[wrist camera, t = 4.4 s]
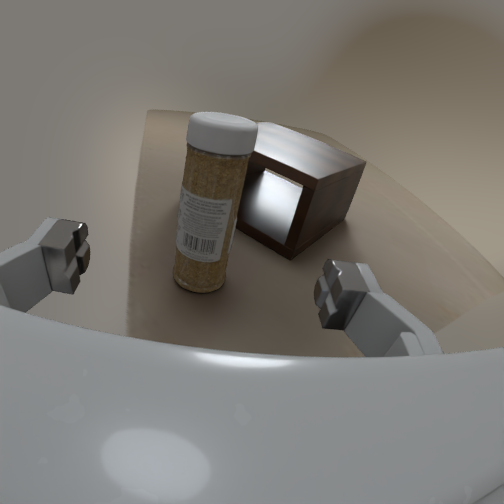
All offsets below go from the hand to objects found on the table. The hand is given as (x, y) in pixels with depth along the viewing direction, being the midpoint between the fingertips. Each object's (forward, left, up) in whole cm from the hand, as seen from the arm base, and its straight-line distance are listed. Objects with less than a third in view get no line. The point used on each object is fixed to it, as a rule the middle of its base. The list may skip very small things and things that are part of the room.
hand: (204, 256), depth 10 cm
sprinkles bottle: (+9, +8, -11) cm, 17 cm away
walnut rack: (+26, +12, -11) cm, 31 cm away
